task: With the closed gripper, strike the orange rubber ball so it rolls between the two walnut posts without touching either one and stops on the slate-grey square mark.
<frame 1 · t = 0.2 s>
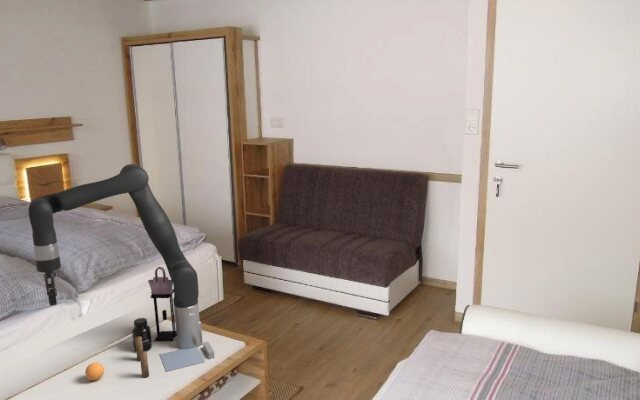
hand: (53, 300, 182), 28 cm above the table, tool pointing down, fingers open, 8 cm apart
post 2: (145, 376, 185), on the table
ball: (94, 371, 183), on the table
supplement bottle: (143, 349, 205), on the table
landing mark: (181, 358, 197), on the table
post 1: (140, 359, 196), on the table
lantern: (166, 337, 214), on the table
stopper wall: (208, 353, 200), on the table
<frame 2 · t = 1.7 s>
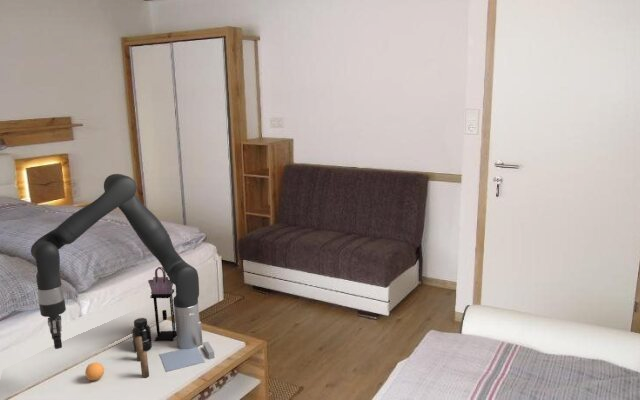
hand: (58, 347, 177), 15 cm above the table, tool pointing down, fingers closed
nothing on the table moved.
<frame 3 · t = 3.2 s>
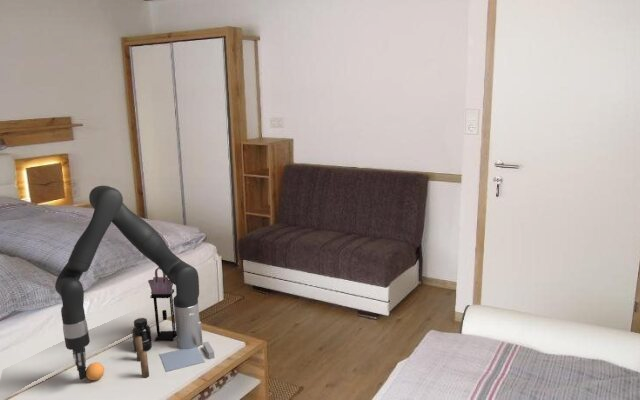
hand: (83, 378, 182), 1 cm above the table, tool pointing down, fingers closed
ball: (95, 371, 183), on the table, touching gripper
everything else where it was.
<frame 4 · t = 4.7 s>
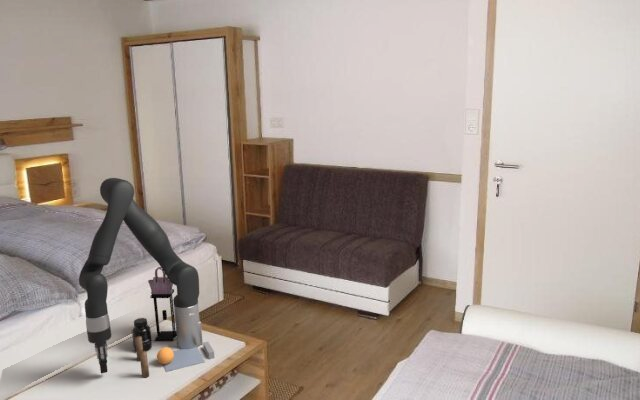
hand: (104, 371, 185), 2 cm above the table, tool pointing down, fingers closed
ball: (165, 355, 193), on the table
everything else where it was.
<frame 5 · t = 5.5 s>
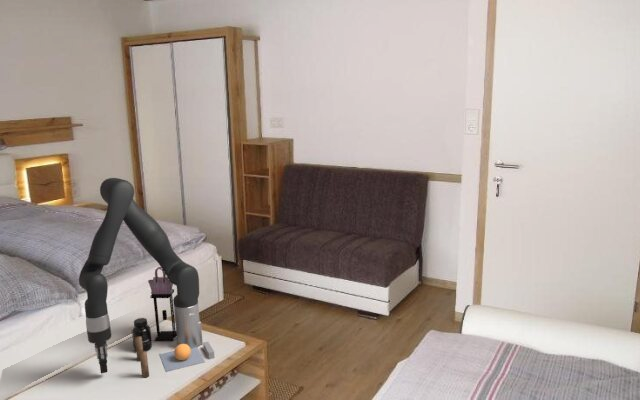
hand: (104, 371, 185), 2 cm above the table, tool pointing down, fingers closed
ball: (182, 352, 195), on the table
everything else where it was.
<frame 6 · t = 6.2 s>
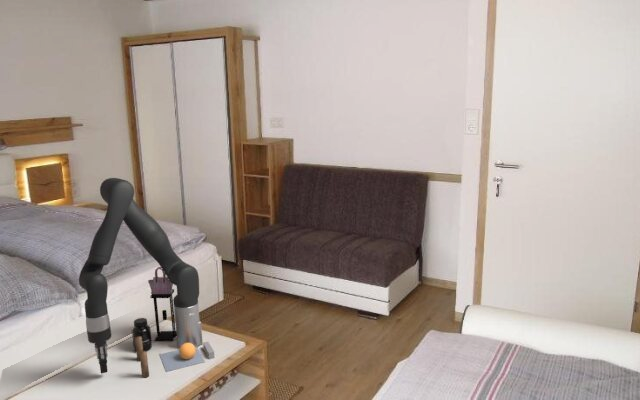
hand: (104, 371, 185), 2 cm above the table, tool pointing down, fingers closed
ball: (187, 350, 196), on the table
everything else where it was.
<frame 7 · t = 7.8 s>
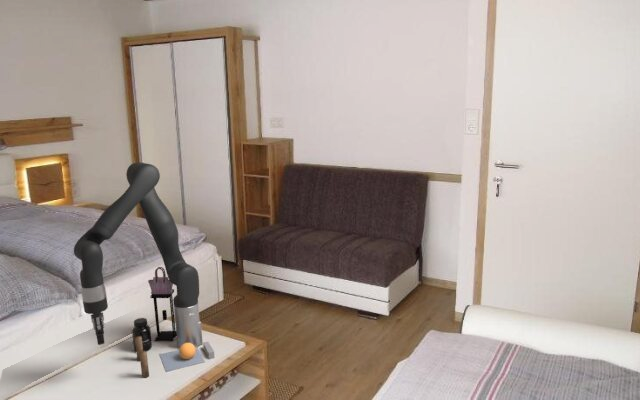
hand: (101, 343, 183), 13 cm above the table, tool pointing down, fingers closed
nothing on the table moved.
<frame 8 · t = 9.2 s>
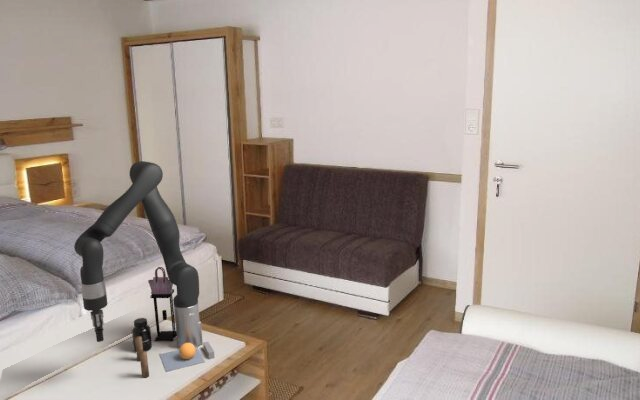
hand: (100, 340, 182), 14 cm above the table, tool pointing down, fingers closed
nothing on the table moved.
at the end: ball 2.3 cm from the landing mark (horizontally); ball never touched post 2; ball never touched post 1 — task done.
